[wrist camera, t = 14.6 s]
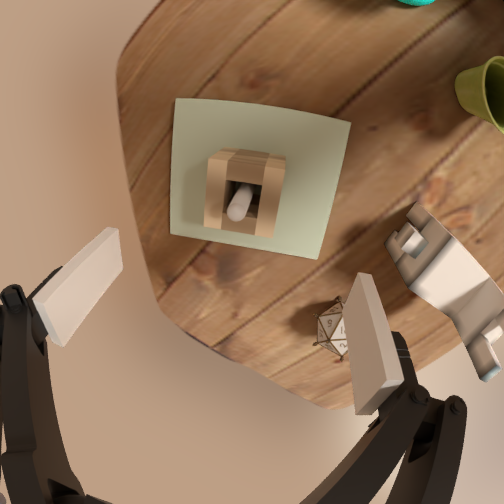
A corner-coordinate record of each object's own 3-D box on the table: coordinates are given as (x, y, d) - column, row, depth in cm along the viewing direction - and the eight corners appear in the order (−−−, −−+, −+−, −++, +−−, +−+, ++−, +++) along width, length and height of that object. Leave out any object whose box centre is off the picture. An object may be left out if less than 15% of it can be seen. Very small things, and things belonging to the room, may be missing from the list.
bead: (224, 146, 30) (208, 158, 24) (285, 155, 30) (285, 169, 24) (219, 202, 34) (203, 226, 28) (275, 211, 33) (272, 238, 27)
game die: (342, 287, 44) (388, 302, 34) (341, 334, 45) (382, 355, 36) (296, 299, 40) (340, 320, 31) (297, 349, 42) (336, 378, 32)
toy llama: (404, 190, 31) (493, 284, 13) (471, 253, 33) (536, 343, 16) (370, 234, 34) (424, 352, 17) (442, 287, 37) (492, 385, 20)
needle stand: (178, 98, 28) (127, 100, 18) (349, 122, 28) (381, 132, 18) (172, 230, 38) (134, 279, 27) (316, 255, 37) (324, 316, 27)
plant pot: (483, 139, 25) (523, 154, 17) (435, 102, 24) (474, 107, 17) (498, 85, 20) (538, 91, 12) (452, 46, 19) (490, 39, 12)
